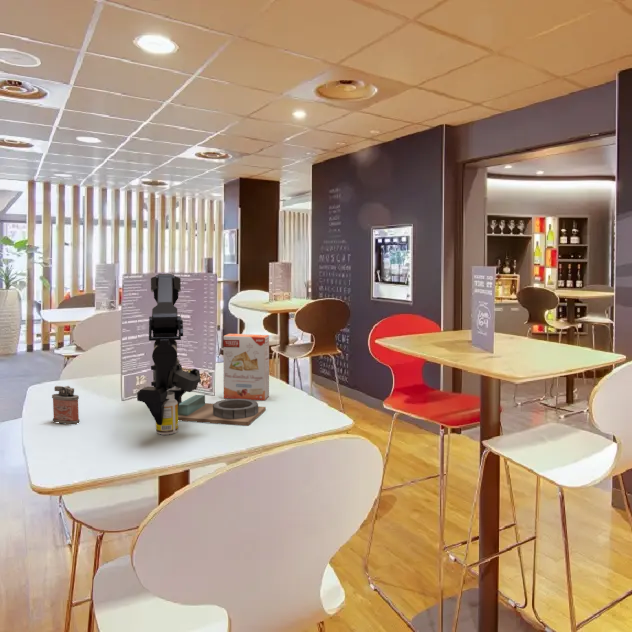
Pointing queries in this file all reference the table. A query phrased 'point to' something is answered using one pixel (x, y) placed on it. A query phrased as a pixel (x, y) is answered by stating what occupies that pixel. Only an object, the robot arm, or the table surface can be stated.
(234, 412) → the ring
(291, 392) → the table surface
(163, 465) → the table surface
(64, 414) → the lighter
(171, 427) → the supplement bottle
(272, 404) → the table surface
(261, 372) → the cracker box
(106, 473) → the table surface
